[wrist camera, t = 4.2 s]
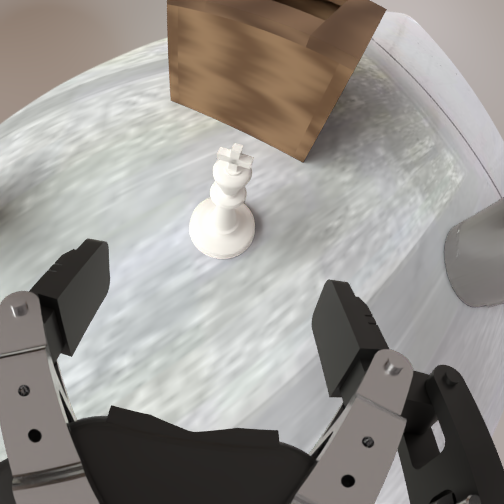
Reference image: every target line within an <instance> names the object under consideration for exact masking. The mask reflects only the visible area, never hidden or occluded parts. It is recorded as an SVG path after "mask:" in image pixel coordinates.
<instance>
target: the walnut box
mask: <svg viewBox="0 0 504 504" xmlns="http://www.w3.org/2000/svg"><path fill="white" fill-rule="evenodd" d="M385 11H386V9H385V8H383V7H381V6H379V5H377V4H376V3H374V2H372V1H370V0H167V28H168V29H167V30H168V59H169V79H170V95H171V101H174V102H176V103H179V104H181V105H184V106H186V107H189V108H191V109H193V110H196V111H198V112H200V113H203V114H205V115H207V116H210V117H212V118H214V119H216V120H219V121H221V122H223V123H225V124H227V125H230V126H232V127H234V128H236V129H238V130H240V131H242V132H244V133H247V134H249V135H251V136H253V137H255V138H257V139H259V140H261V141H263V142H265V143H267V144H269V145H271V146H273V147H275V148H277V149H279V150H281V151H282V152H284V153H286V154H288V155H290V156H292V157H294V158H296V159H297V160H299V161H301V162H304V160H305V158H306V157H307V155H308V153H309V151H310V149H311V148H312V146H313V144H314V142H315V140H316V138H317V137H318V135H319V133H320V131H321V129H322V128H323V126H324V124H325V122H326V120H327V119H328V117H329V115H330V113H331V111H332V110H333V108H334V106H335V104H336V102H337V100H338V99H339V97H340V95H341V93H342V91H343V90H344V88H345V86H346V84H347V82H348V81H349V79H350V77H351V75H352V73H353V71H354V70H355V68H356V66H357V64H358V62H359V61H360V59H361V57H362V55H363V53H364V51H365V49H366V47H367V46H368V44H369V42H370V40H371V38H372V36H373V34H374V32H375V30H376V28H377V27H378V25H379V23H380V21H381V19H382V17H383V15H384V13H385Z"/></svg>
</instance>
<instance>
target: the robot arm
mask: <svg viewBox="0 0 504 504" xmlns="http://www.w3.org/2000/svg"><path fill="white" fill-rule="evenodd" d="M444 254H445V264H446V270H447V274H448V277H449V280H450V283H451V285H452V287H453V289H454V291H455V292H456V294H457V296H458V297H459V298H460V299H461V300H462V301H463V302H464V303H465V304H467V305H469V306H472V307H480V306H484V305H487V306H488V307H491V306H495V305H499V304H503V303H504V197H503V198H502V199H500V200H498V201H497V202H495V203H493V204H492V205H490V206H488V207H487V208H485V209H483V210H482V211H480V212H478V213H476V214H475V215H473V216H471V217H470V218H468V219H466V220H464V221H463V222H461V223H459V224H457V225H456V226H454V227H453V228H452V229H451V230H450V231H449V233H448V235H447V238H446V242H445V250H444ZM109 285H110V272H109V249H108V244H107V242H105V241H99V240H94V239H86V240H85V241H84V242H83V243H82V244H81V245H80V246H79V247H78V249H77V250H74V249H73V250H71V251H69V252H67V253H65V254H63V255H62V256H61V257H60V258H59V259H58V260H57V261H56V262H55V265H54V264H53V265H52V266H51V267H50V269H49V271H47V272H46V273H45V274H44V275H43V276H42V277H41V278H40V280H39V281H38V282H37V283H36V284H35V285H34V286H33V287H32V289H31V290H30V291H29V292H28V291H19V292H15V293H12V294H10V295H8V296H7V297H6V298H5V299H3V301H2V302H1V304H0V425H1V430H2V435H3V440H4V444H5V448H6V452H7V456H8V458H7V459H5V460H3V461H2V462H0V504H374V503H375V501H376V499H377V497H378V495H379V492H380V490H381V488H382V486H383V484H384V481H385V479H386V477H387V474H388V472H389V470H390V467H391V465H392V462H393V460H394V457H395V454H396V452H397V449H398V453H399V457H400V461H401V465H402V469H403V473H404V477H405V481H406V486H407V490H408V495H409V500H410V504H504V469H503V466H502V463H501V461H500V458H499V456H498V453H497V450H496V448H495V445H494V443H493V441H492V438H491V436H490V433H489V431H488V429H487V427H486V424H485V422H484V420H483V418H482V415H481V413H480V411H479V409H478V407H477V405H476V403H475V401H474V399H473V397H472V395H471V393H470V391H469V389H468V387H467V385H466V383H465V381H464V379H463V377H462V376H461V375H460V373H459V372H458V371H456V370H455V369H454V368H452V367H450V366H447V365H438V366H437V367H436V368H435V369H434V370H433V372H432V373H431V374H430V375H428V374H424V373H421V372H417V371H413V367H412V365H411V363H410V362H409V360H408V359H407V358H406V357H405V356H403V355H402V354H400V353H399V352H396V351H394V350H390V349H389V347H388V345H387V343H386V341H385V339H384V337H383V335H382V333H381V331H380V329H379V327H378V325H376V321H375V319H374V318H373V317H372V314H371V312H370V310H369V308H368V306H367V305H366V304H365V303H364V302H363V301H362V300H361V299H360V298H359V297H355V295H354V293H353V291H352V289H351V287H350V285H349V283H348V282H342V281H336V280H327V281H326V283H325V285H324V287H323V290H322V293H321V295H320V298H319V300H318V303H317V305H316V308H315V310H314V313H313V317H312V330H313V334H314V337H315V341H316V345H317V349H318V353H319V357H320V361H321V364H322V368H323V372H324V376H325V380H326V384H327V388H328V392H329V397H342V399H343V403H342V405H341V406H340V407H339V409H338V411H337V412H336V414H335V416H334V417H333V419H332V420H331V422H330V424H329V425H328V427H327V428H326V430H325V431H324V433H323V434H322V436H321V438H320V439H319V441H318V442H317V443H316V445H315V446H314V448H313V449H312V450H311V451H310V453H309V454H307V453H305V452H304V451H302V450H300V449H298V448H296V447H294V446H291V445H288V444H286V443H283V442H279V434H278V430H258V429H244V428H233V429H225V430H215V431H204V432H191V431H188V430H185V429H183V428H180V427H178V426H175V425H173V424H170V423H168V422H166V421H163V420H161V419H159V418H156V417H154V416H152V415H148V414H144V413H139V412H135V411H131V410H127V409H123V408H119V407H115V406H112V405H111V408H110V411H109V414H108V416H94V417H88V418H83V419H80V420H77V418H76V416H75V414H74V411H73V409H72V406H71V403H70V400H69V397H68V394H67V391H66V388H65V385H64V382H63V378H62V375H61V371H60V368H59V364H58V361H57V358H58V357H59V355H60V353H62V354H65V355H68V356H71V357H72V356H73V354H74V352H75V350H76V348H77V346H78V344H79V342H80V341H81V339H82V337H83V335H84V333H85V331H86V330H87V328H88V326H89V324H90V322H91V321H92V319H93V317H94V315H95V314H96V312H97V310H98V309H99V307H100V305H101V303H102V302H103V300H104V298H105V297H106V295H107V293H108V290H109ZM437 420H438V421H439V423H440V426H441V429H442V431H443V434H444V437H445V447H444V449H443V451H442V452H441V453H440V452H439V449H438V446H437V443H436V440H435V437H434V434H433V431H432V429H431V426H432V425H433V424H434V423H435V422H436V421H437Z"/></svg>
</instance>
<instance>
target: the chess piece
mask: <svg viewBox="0 0 504 504" xmlns="http://www.w3.org/2000/svg"><path fill="white" fill-rule="evenodd" d="M242 149H243V145H240V144H236V143H234V144H233V147H232V149H231V150H229V149H226V148H223V147H220V149H219V151H218V153H217V159H219V160H218V161H217V162H216V163H215V165H214V167H213V176H214V179H215V182H214V183H213V185H212V186H211V189H210V196H211V197H210V198H208V199H206V200H204V201H202V202H201V203H200V204H199V205H198V206H197V207H196V208H195V210H194V212H193V214H192V216H191V220H190V224H189V231H190V236H191V239H192V241H193V243H194V245H195V246H196V247H197V248H198V249H199V250H200V251H201V252H202V253H204V254H205V255H207V256H209V257H212V258H216V259H229V258H233V257H236V256H238V255H240V254H242V253H243V252H244V251H245V250H246V249H247V248H248V247H249V246H250V244H251V243H252V240H253V238H254V234H255V221H254V217H253V215H252V213H251V211H250V209H249V208H248V207H247V206H246V205H245V204H244V201H245V200H246V196H247V192H246V188H245V185H247V183H248V182H249V181H250V179H251V176H252V169H251V165H252V162H253V159H254V157H251V156H248V155H245V154H242Z"/></svg>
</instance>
